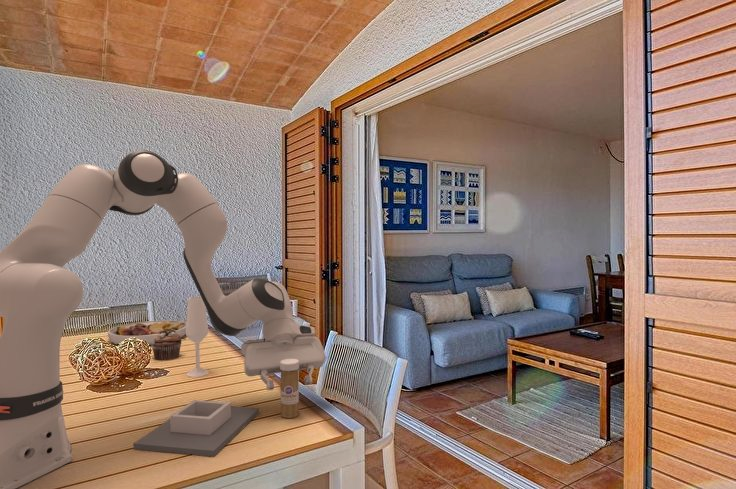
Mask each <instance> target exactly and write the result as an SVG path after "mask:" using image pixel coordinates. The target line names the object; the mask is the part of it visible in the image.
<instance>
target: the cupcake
mask: <svg viewBox="0 0 736 489" xmlns="http://www.w3.org/2000/svg"><path fill="white" fill-rule="evenodd" d="M181 339H182V337H180V336H179V335H178V334H177V333H176V331H175V329H169V331H167V330H165V329H163V331H162V332H160V335H159V336H157V337H156V338H155V339H154V342H155V343H154V344H152V345H151V349H152V353H153V357H154V358H153V359H154V360H156V361H168V360H174V359H177V358H178V357H179V355H180V351H181V345H182V340H181Z"/></svg>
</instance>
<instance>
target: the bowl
mask: <svg viewBox="0 0 736 489" xmlns="http://www.w3.org/2000/svg"><path fill="white" fill-rule="evenodd" d="M186 323H187V322H184V321H180V320H148V321H140V322H132V323H128V324H123V325H117V326H115V327H112V328H110V329H108V331H107V336H108V339H109V341H110V342H112V343H113V344H115V345H117V344H119V343H121V342H122V341H124V340H125V339H127V338H130V337H135V338H138V339H140V340H144V341H146V342H147V343H148V344H149V345H150V346H152V344H154V343H155V342H154V339H155V338H156V337H157V336H159V335H160V332H162V331H163V329H165V330H167V331H169V329H175V331H176V333H177V334H178V335H179V336H180V337H181V338H183V337H184V336H185V335H186Z"/></svg>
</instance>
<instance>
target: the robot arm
mask: <svg viewBox="0 0 736 489" xmlns="http://www.w3.org/2000/svg"><path fill="white" fill-rule="evenodd" d="M155 204H156V205H157V206H158V207H159V208H162V209H164V210H165V211H166V212H167V213H168V214H169V215H170V216H171V217H172V219H173V221H174V223H175V224H176V225H177V227H178V229H179V231H180V232H181V235H182V238H183V243H184V244H183V245H184V249H183V250H182V251H183V252H182V256H183V260H184V262H185V265H186V268H187V270H188V272H189V274H190V276H191V278H192V281H193V283H194V285H195V288H196V289H197V291H198V293H199V296H200V297H201V298H202V300H203V302H204V304H205V306H206V313H207V316H208V319H209V322H210V324H211V326H212V328H213V329H214V330H215V331H216V332H218V333H219V334H221V335H224V336H228V337H235V336H237V335H239V334H240V333H241V332H242V331H244V330H245V329H246V328H248V327H250V326H252V324H254V323H256V322H257V321H261V322H262V326H261V329H262V331H261V332H262V337H263V338H258V339H248V340H246V341H245V342H243V343H242V345H241V346H240V351H241V354H242V356H243V357H244V361H243V362H244V364H243V366H244V368H243V370H244V374H245V375H246V376H247V377H256V376H259V378H260V380H261V381H262V382H263V383H264V384H265V385H266V390H267V391H271V390H272V391H273V390H274V388H275V384H274V380H273V379H270V378H269V377H268V375H272V374H278V373H279V374H281V369H280V362H281V361H282V360H284V359H297V360H298V361H299V370H298V371H302V370H303V371H304V370H306V372H307V373H308V374H307V375H304V384H305V385H306V386H307V385H312V384H313V378H312V375H313V373H314V369H318V368H322V367H323V366H324V365H325V362H326V359H327V357H326V356H327V355H326V353H325V349H324V347H323V344H322V341H321V340H320V339H319V337H318V336H316V329H315V327H313V326H309V325H303V324H299V323H296V321H295V319H294V316H293V315H294V311H293V306H292V305H293V304H292V301H291V299H290V295H289V293H288V291H287V289H286V287H285V286H284V285H283V284H281V283H280V282H277V281H269V280H268V279H265V278H260V277H259V278H257V277H256V278H253V279H252V280H250V281H248V282H246V283H245V284H243V285H241V286H240V287H239V288H237V289H236V290H234V291H232V292H231V293H230V294H228V295H225V294H224V293H223V291H222V288H221V286H220V285H219V281H218V280H217V277H216V275H215V273H214V271H213V269H212V261H213V257H214V256H215V253H216V251H217V250H218V248H219V247H220V246H221V245H222V242H223V241H224V239H225V236H226V234H227V230H228V220H227V218H226V216H225V213H224V211H223V210H222V208H221V206H219V203H217V201H216V200H215V198H214V197H213V195H212V194H211V193H210V191H208V189H207V188H206V187H205V186H204V184H202V182H201V181H200V180H199V179H198V178H197V177H196V176H194V175H193V174H191V173H189V172H180V173H178V172H177V169H176V168H175V167H174V166H173V165H171V164H169V163H168V162H167V160H165V159H164V157H162V155H159V154H158V153H156V152H154V151H152V150H147V149H137V150H134V151H131V152H130V153H128V154H127V155H125V156H124V157H123V158H122V160H121V161H120V162H119V164H118V167H117V168H116V170H105V169H103V167H100V166H97V165H94V164H90V163H89V164H88V163H83V164H78V165H75V166H74V167H73V168H72V169H71V170H70V171H68V172H67V173H66V174H65V175H64V176H63V177H62V178H61V179H60V180H59V181H58V182H57V184H55V186H54V187H53V188H52V190H51V191H50V192H49V194H48V195H47V197H46V199H44V201H43V203H42V204H41V205H40V207H39V208H38V210H37V211H36V213H35V214H34V215H33V217H32V219H31V220H30V221H29V222H28V224H27V225H26V226H25V227H24V228H23V230H22V231H21V232H20V233H19V234H18V235H16V237H15V238H14V239H12V241H10V242H9V243H8V244H7V245H6V246H5V247H4V248H3V249H2V250H0V317H1V318H3V326H2V330H1V334H0V489H18V488H20V487H21V486H23V485H25V484H28V483H30V482H32V481H34V480H36V479H38V478H40V477H42V476H44V475H46V474H48V473H51V472H52V471H54V470H56V469H58V468H60V467H62V466H64V465H66V464H69V463H70V462H72V460H73V456H72V453H71V451H72V444H71V443H70V440H69V437H68V433H67V430H66V428H67V427H66V423H65V418H64V413H63V410H62V401H64V400H63V399H64V389H63V388H64V387H63V382H62V381H61V376H60V375H61V374H60V373H61V372H60V371H61V370H60V366H61V365H60V364H61V362H60V361H61V360H60V359H61V358H60V355H61V354H60V349H61V342H62V337H63V333H64V329H65V326H66V324H67V321H68V319H69V318H70V315H71V314H72V313H74V312H75V311H76V310H77V309H78V308H79V306H80V305H81V302H82V301H83V297H84V296H83V295H84V287H83V282H82V281H81V279H80V277H79V276H78V274H76V273H75V272H73V271H71V270H69V269H68V268H65V267H64V266H65V265H67V263H69V262H71V261H72V260H74V259H75V258H77V257H78V256H80V255H81V254H82V253H83V252H85V250H86V248H87V247H88V245H89V243H90V241H91V240H92V238H93V237H94V235H95V233H96V232H97V230H98V228H99V227H100V225H101V223H102V222H103V219H104V218H105V216H106V214H107V213H108V211H111V212H112V211H113V212H118V213H121V214H123V215H127V216H139V215H140V216H141V215H143V214H145V213H147V212H149V211H150V210H151V209H152V208H153V207H154V206H155Z"/></svg>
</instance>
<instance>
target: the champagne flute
mask: <svg viewBox="0 0 736 489" xmlns="http://www.w3.org/2000/svg"><path fill="white" fill-rule="evenodd" d="M187 300H188V301H187V312H186V322H185V323H186V334H185V335H186V337H187V338H188V339H189V341H191V342H192V343H193V344H195V346H194V348H195V350H194V352H195V367H194V368H193V369H191V370H190V371H189V372H187V373H186V376H187V377H190V378H197V377H203V376H207V375H208V374H209V373H210V371H209V370H208V369H207V370H206V369H205V368H202V367H201V365H200V343H201V342H203V341H204V339H205V338H206V337H207V336H208V334H209V326H208V325H209V323H208V318H207V317H208V313H207V309H206V306H205V304H204V302H203V300H202V298H201V296H190V297H188V299H187Z"/></svg>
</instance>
